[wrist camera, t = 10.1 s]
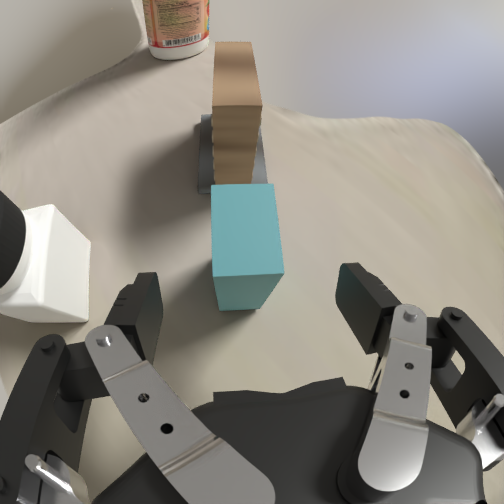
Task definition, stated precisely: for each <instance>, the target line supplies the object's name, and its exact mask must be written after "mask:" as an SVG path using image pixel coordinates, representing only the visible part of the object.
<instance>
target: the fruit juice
mask: <svg viewBox="0 0 504 504" xmlns="http://www.w3.org/2000/svg"><path fill="white" fill-rule="evenodd" d="M142 1H143V9H144V16H145V23H146V30H147V37H148V43H149V49H150V52H151V54H152V55H153V56H154V57H156V58H158V59H163V60H175V59H183V58H187V57H191V56H194V55H196V54H199V53H201V52H202V51H204V50H205V49H206V48H207V46H208V43H209V0H142Z"/></svg>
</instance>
